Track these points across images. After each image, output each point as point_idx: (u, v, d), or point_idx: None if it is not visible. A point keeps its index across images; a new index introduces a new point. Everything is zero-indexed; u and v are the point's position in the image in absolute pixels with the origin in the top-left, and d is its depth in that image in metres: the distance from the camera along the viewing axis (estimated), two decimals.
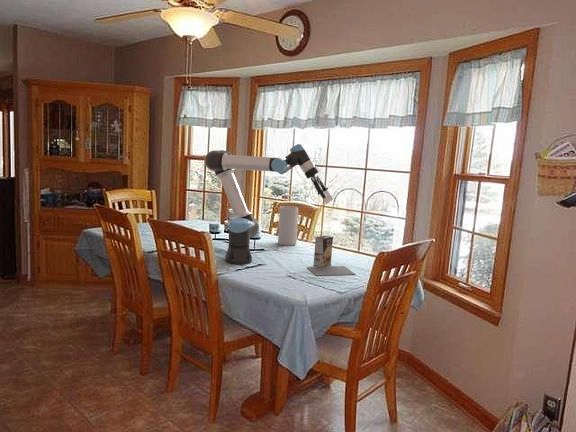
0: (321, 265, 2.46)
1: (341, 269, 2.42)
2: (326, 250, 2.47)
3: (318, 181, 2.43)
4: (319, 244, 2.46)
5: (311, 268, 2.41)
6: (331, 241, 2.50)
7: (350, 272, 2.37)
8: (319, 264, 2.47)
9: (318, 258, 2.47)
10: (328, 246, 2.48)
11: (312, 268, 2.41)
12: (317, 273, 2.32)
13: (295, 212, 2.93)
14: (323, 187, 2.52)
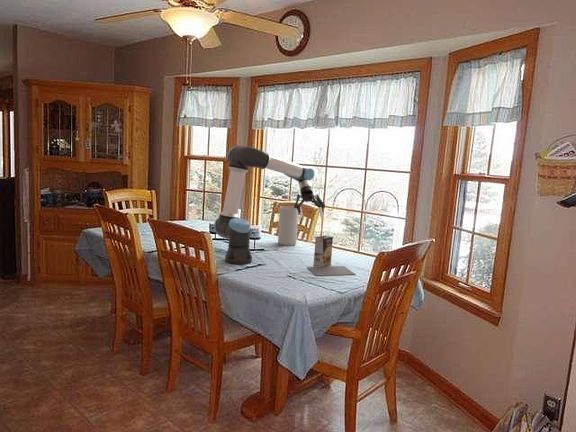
0: (321, 265, 2.46)
1: (341, 269, 2.42)
2: (326, 250, 2.47)
3: None
4: (319, 244, 2.46)
5: (311, 268, 2.41)
6: (331, 241, 2.50)
7: (350, 272, 2.37)
8: (319, 264, 2.47)
9: (318, 258, 2.47)
10: (328, 246, 2.48)
11: (312, 268, 2.41)
12: (317, 273, 2.32)
13: (295, 212, 2.93)
14: None
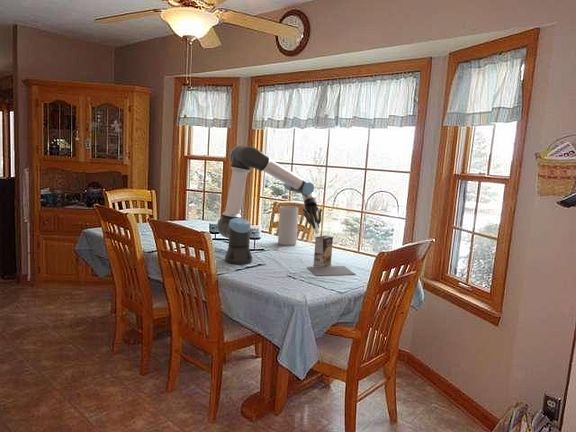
0: (321, 265, 2.46)
1: (341, 269, 2.42)
2: (326, 250, 2.47)
3: None
4: (319, 244, 2.46)
5: (311, 268, 2.41)
6: (331, 241, 2.50)
7: (350, 272, 2.37)
8: (319, 264, 2.47)
9: (318, 258, 2.47)
10: (328, 246, 2.48)
11: (312, 268, 2.41)
12: (317, 273, 2.32)
13: (295, 212, 2.93)
14: None
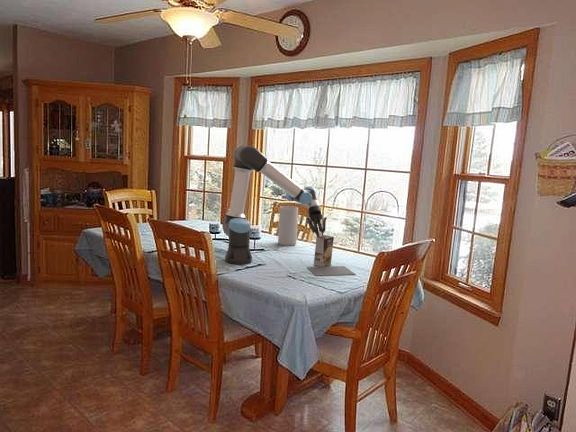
0: (321, 265, 2.46)
1: (341, 269, 2.42)
2: (327, 251, 2.46)
3: None
4: (320, 244, 2.46)
5: (311, 268, 2.41)
6: (332, 241, 2.49)
7: (350, 272, 2.37)
8: (319, 264, 2.47)
9: (318, 258, 2.47)
10: (329, 247, 2.48)
11: (312, 268, 2.41)
12: (317, 273, 2.32)
13: (295, 212, 2.93)
14: None
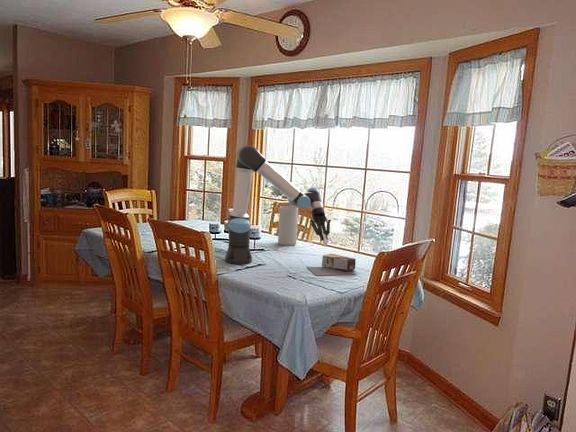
0: (323, 264, 2.45)
1: None
2: None
3: None
4: (341, 264, 2.38)
5: (311, 268, 2.41)
6: None
7: (350, 272, 2.37)
8: (323, 262, 2.44)
9: (328, 262, 2.42)
10: None
11: (312, 268, 2.41)
12: (317, 273, 2.32)
13: (295, 212, 2.93)
14: None
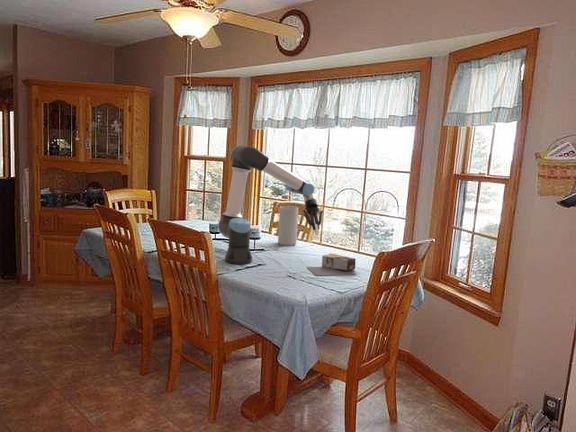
0: (323, 265, 2.45)
1: None
2: None
3: None
4: (341, 265, 2.38)
5: (311, 268, 2.41)
6: None
7: (350, 272, 2.37)
8: (323, 262, 2.44)
9: (328, 262, 2.42)
10: None
11: (312, 268, 2.41)
12: (317, 273, 2.32)
13: (295, 212, 2.93)
14: None
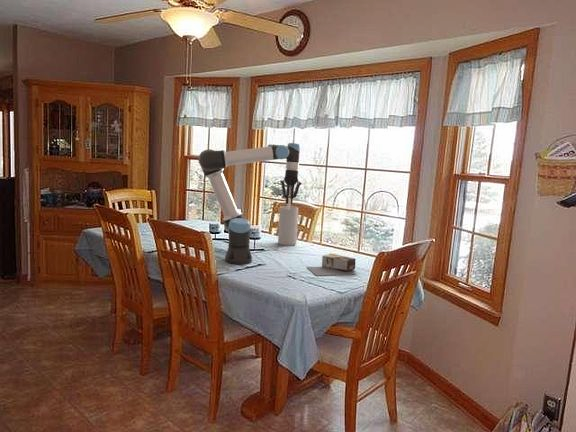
0: (323, 265, 2.45)
1: None
2: None
3: None
4: (341, 265, 2.38)
5: (311, 268, 2.41)
6: None
7: (350, 272, 2.37)
8: (323, 262, 2.44)
9: (328, 262, 2.42)
10: None
11: (312, 268, 2.41)
12: (317, 273, 2.32)
13: (295, 212, 2.93)
14: None
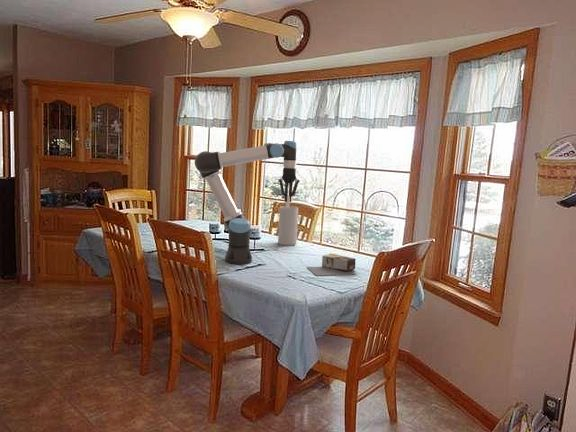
0: (323, 265, 2.45)
1: None
2: None
3: None
4: (341, 265, 2.38)
5: (311, 268, 2.41)
6: None
7: (350, 272, 2.37)
8: (323, 262, 2.44)
9: (328, 262, 2.42)
10: None
11: (312, 268, 2.41)
12: (317, 273, 2.32)
13: (295, 212, 2.93)
14: None
